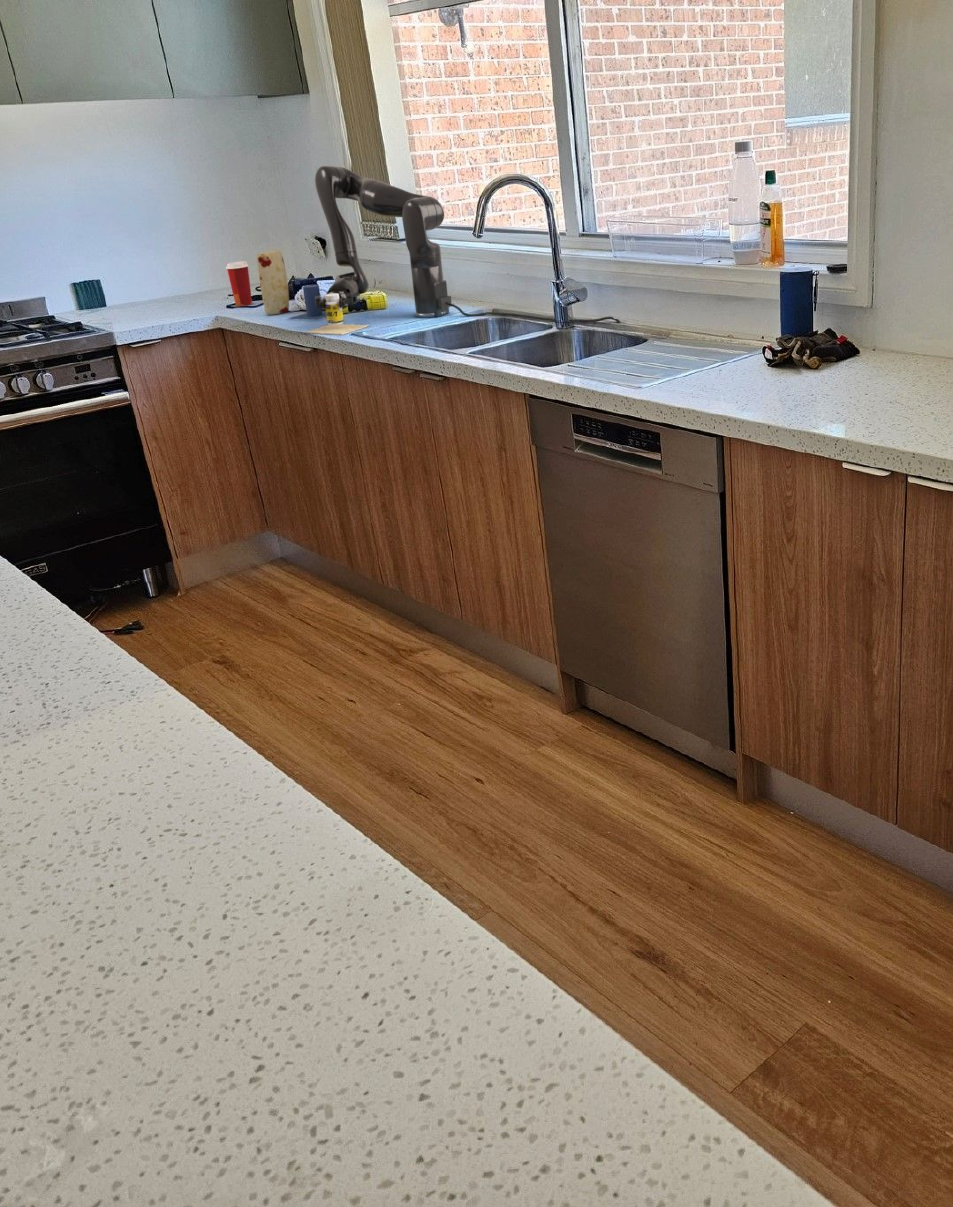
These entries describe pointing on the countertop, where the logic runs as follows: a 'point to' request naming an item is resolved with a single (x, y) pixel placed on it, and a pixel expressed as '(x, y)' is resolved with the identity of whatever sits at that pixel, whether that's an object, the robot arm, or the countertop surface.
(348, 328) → the cream mat
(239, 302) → the paper cup
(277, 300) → the food model
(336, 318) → the supplement bottle
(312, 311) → the blue rectangular block
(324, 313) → the blue mat
